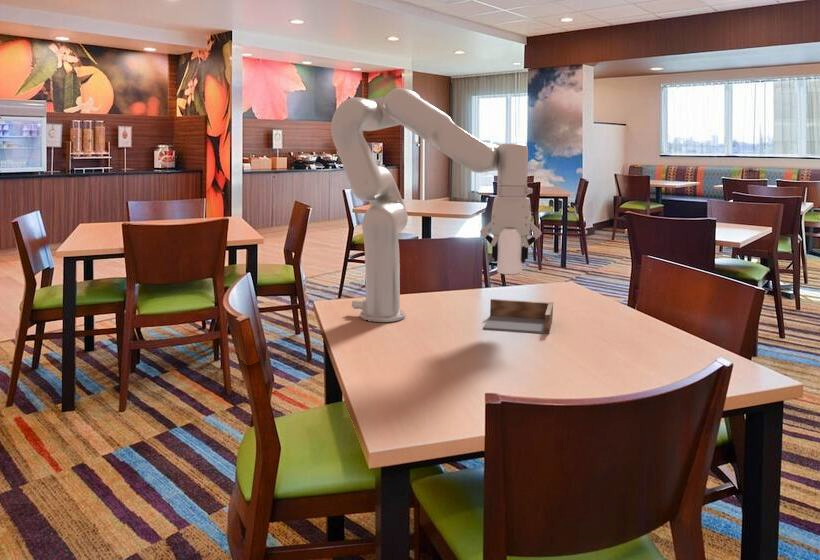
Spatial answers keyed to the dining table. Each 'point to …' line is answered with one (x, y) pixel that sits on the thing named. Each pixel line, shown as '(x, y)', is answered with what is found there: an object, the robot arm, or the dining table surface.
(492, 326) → the mat
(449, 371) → the dining table surface
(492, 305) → the corner walls
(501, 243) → the can
